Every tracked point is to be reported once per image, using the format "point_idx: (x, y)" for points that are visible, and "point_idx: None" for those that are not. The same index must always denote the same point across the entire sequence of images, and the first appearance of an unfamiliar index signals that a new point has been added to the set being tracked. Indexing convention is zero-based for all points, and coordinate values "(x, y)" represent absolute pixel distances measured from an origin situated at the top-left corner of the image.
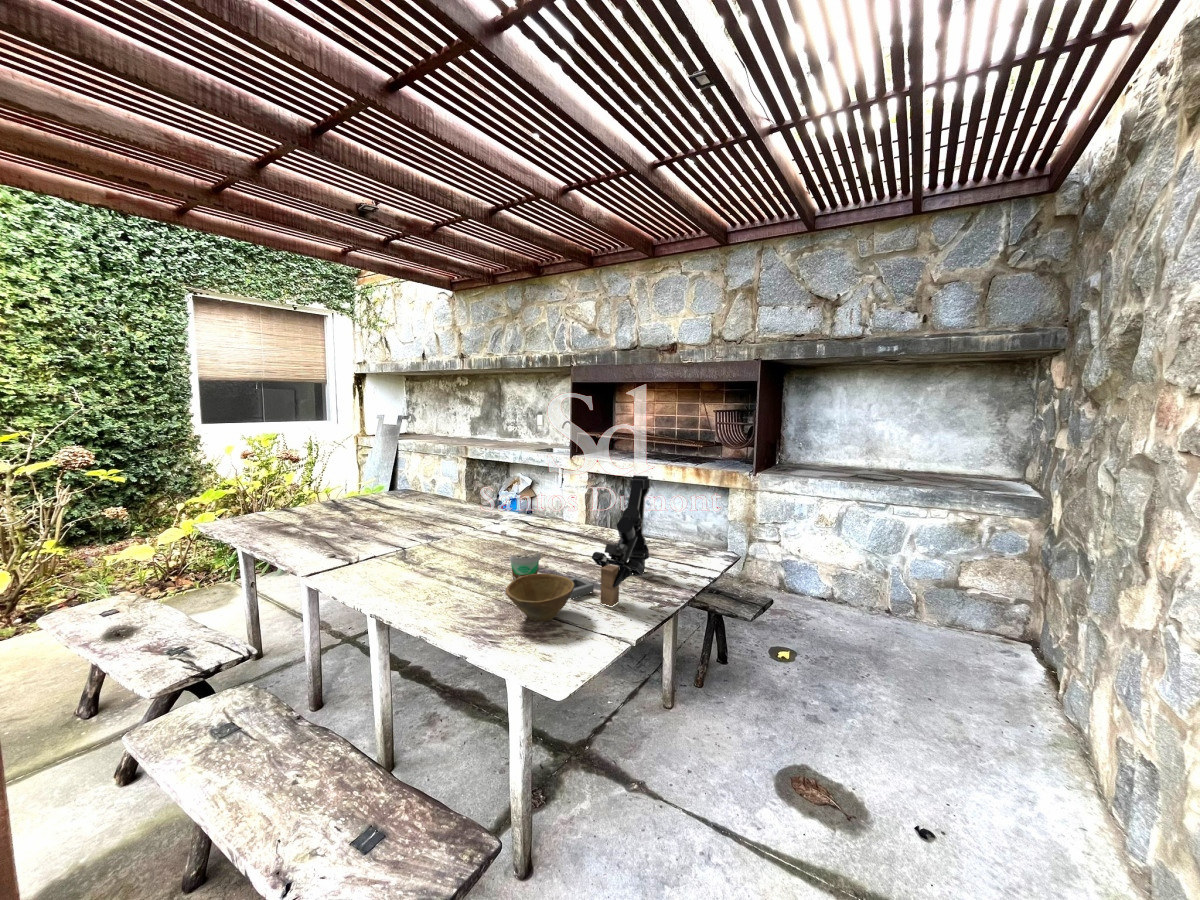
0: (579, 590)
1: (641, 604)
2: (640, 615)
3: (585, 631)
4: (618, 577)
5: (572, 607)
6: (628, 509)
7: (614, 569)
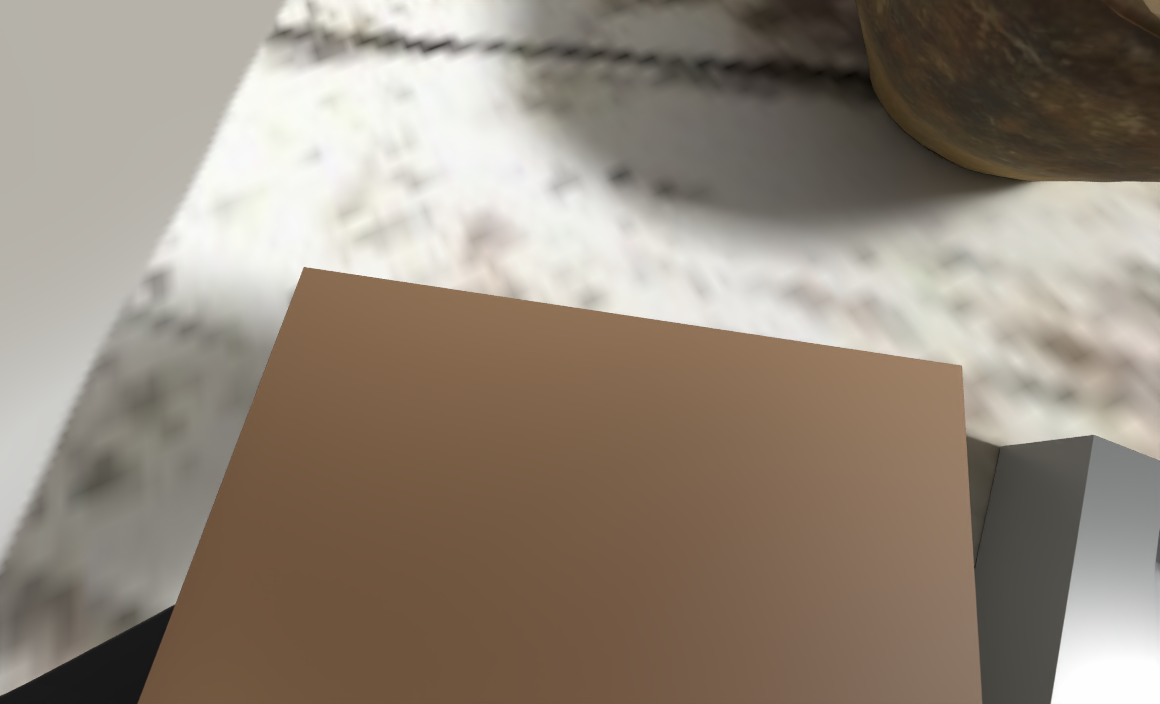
0: (1054, 562)
1: None
2: (230, 420)
3: (562, 29)
4: None
5: (872, 296)
6: None
7: (224, 486)
